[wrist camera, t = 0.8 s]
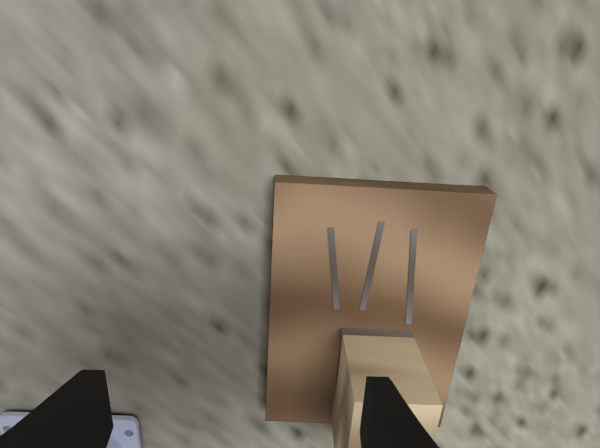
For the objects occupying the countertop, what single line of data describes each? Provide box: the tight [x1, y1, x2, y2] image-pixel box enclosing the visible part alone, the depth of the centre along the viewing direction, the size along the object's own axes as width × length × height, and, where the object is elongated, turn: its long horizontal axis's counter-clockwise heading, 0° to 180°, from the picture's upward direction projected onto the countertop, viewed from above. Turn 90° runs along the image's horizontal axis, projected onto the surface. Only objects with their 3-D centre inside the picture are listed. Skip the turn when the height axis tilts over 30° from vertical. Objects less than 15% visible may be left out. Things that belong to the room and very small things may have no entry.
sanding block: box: [331, 328, 443, 448], centre depth 21 cm, size 6×4×5 cm, turn 176°
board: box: [265, 175, 497, 427], centre depth 22 cm, size 14×10×1 cm
